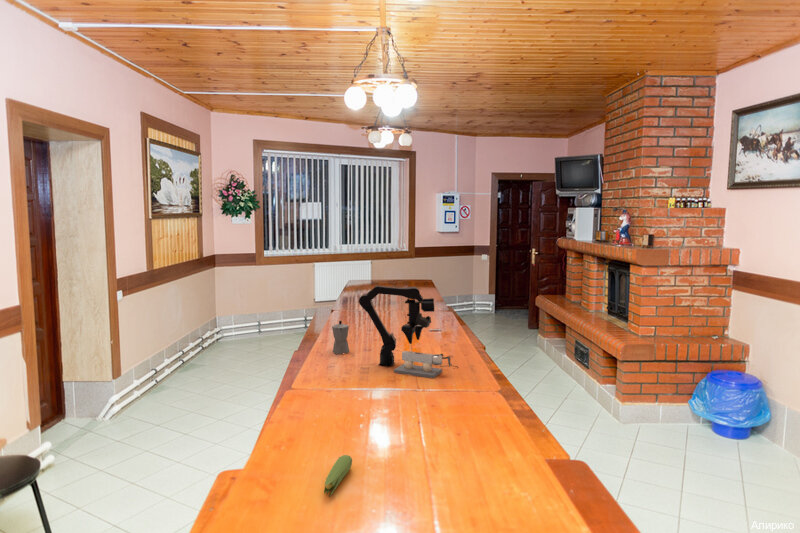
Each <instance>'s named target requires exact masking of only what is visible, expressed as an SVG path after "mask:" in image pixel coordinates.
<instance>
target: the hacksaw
mask: <svg viewBox="0 0 800 533" xmlns="http://www.w3.org/2000/svg"><path fill="white" fill-rule="evenodd" d="M438 354H439V355H442V359H447V364H448V367H450V366H451V367H452V366H453V365H452V363H451V358H454V356H453V355H451V356H450V355H447V356H444V354H443V353H438ZM443 356H444V357H443ZM454 366H455V368H456V367H457V368H458V366H456V365H454ZM439 367H445V365H439ZM455 368H452V369H455Z"/></svg>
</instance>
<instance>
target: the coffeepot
mask: <svg viewBox="0 0 800 533" xmlns="http://www.w3.org/2000/svg"><path fill="white" fill-rule="evenodd" d="M342 322H343V321H342V320H339V321H338V324H337V323H336V324H333V325H332V326H331V330H332V333H333V334H332V335H333V338H334V341H333V347H332V348H333V349H332V353H333V352H334V353H335V354H334V353H333V354H334V355H344V354H343V353H346V354H349V353H350V348H349V342H348V340H347V338H348V336H349V328H350V325H348V324H345V323H342Z"/></svg>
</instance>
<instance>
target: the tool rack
mask: <svg viewBox="0 0 800 533" xmlns="http://www.w3.org/2000/svg"><path fill="white" fill-rule="evenodd" d="M403 361H404V360H403ZM393 373H394V374H400V375H408V376H414V377H421V378H429V379H435V378H437V377H438V375H441V374H442V373H443V368H439V367H438V368H437V367H433V364H427V363H422V365H418V364H416V365H415V364H414V362H412V361H404V363H403V364H401V365H400V366H398V367H396V368H394V369H393Z"/></svg>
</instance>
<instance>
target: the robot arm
mask: <svg viewBox="0 0 800 533" xmlns="http://www.w3.org/2000/svg"><path fill="white" fill-rule="evenodd" d="M379 294H380V295H389V296H400V297H404V298H406V300H405V301H404V304H408V313H407V314H406V315H407V317H408V321H407V324H405V323H404V324H403V325H402V326H401V328H400V330H401V332H402V333H403V334H404V336H405V337H406V339H407V341H408V343H409V344H413V336H414V333H415V337H416V340H420V338H421V334H422V331H423V330H424V328H426V329H427V328H429V327H430V324H431V323H432V318H431V316H429V315H427V316H423V315H422V313H421V310H422V311H423V312H424V313H426V312H427V313H429V312H431V313H432V312H435V300H434V298H433V297H430V298H424V296H422V295H421V294H420V289H419V288H418V287H416V286H407V287H393V286H387V285H385V286H383V285H378V284H377V285H375V286H374V287H373V288H371V290H369V291H368V292H367V293H363V294H362V295H360V297H359V299H358V303H359V305H360V306H361V307H362V308H363V310H364V311H365V312H366V313H367V315H368V316H369V318H370V319H371V321H372V323H373V325H374V326H375V328H376V330H377V331H378V333H379V335H380V337H381V340H382V345H381V348H380V352H379V363H378V366H382V367H383V366H384V367H391V366H393V365H394V364H396V362H395V355H394V351H395V350H396V348H397V338H396V337H395V334H394V333H392V332H391V333H390V332H389V331H388V330H387V328H386V326H385V325H384V323H383V321H382V319H381V317H380V315H378V312H377V310H376V309H375V306H374V303H373V300H374V299H375V298H376V297H377V296H378V295H379Z"/></svg>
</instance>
